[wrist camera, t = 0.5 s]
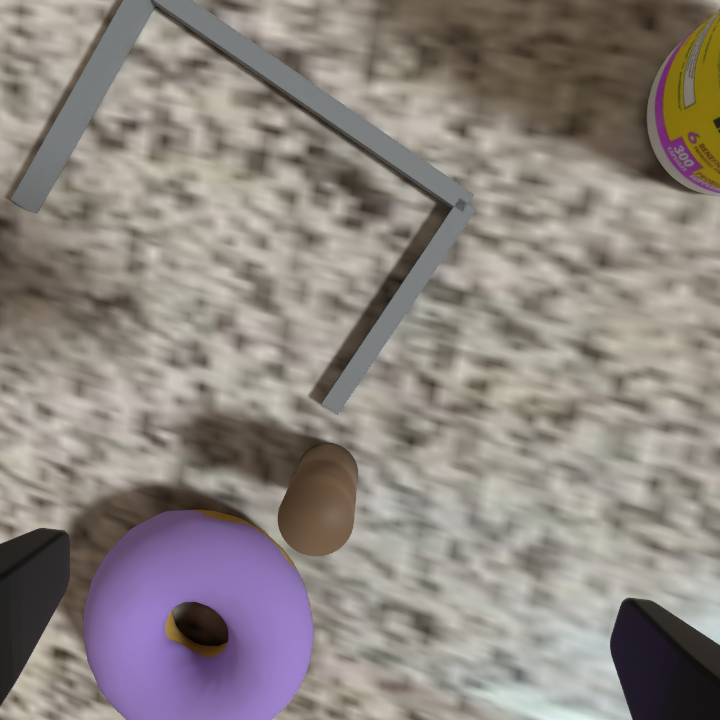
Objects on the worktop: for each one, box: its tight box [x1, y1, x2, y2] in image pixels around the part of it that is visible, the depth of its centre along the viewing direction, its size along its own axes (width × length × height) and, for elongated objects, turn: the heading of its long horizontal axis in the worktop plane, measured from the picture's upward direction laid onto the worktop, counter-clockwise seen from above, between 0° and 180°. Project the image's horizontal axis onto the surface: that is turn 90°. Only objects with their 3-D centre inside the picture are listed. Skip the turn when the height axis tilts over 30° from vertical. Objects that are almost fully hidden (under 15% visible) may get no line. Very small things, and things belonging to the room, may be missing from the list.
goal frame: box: [11, 0, 476, 415], centre depth 22 cm, size 10×16×1 cm, turn 56°
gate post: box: [278, 443, 358, 556], centre depth 21 cm, size 3×3×5 cm
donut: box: [83, 510, 314, 720], centre depth 22 cm, size 10×9×5 cm
